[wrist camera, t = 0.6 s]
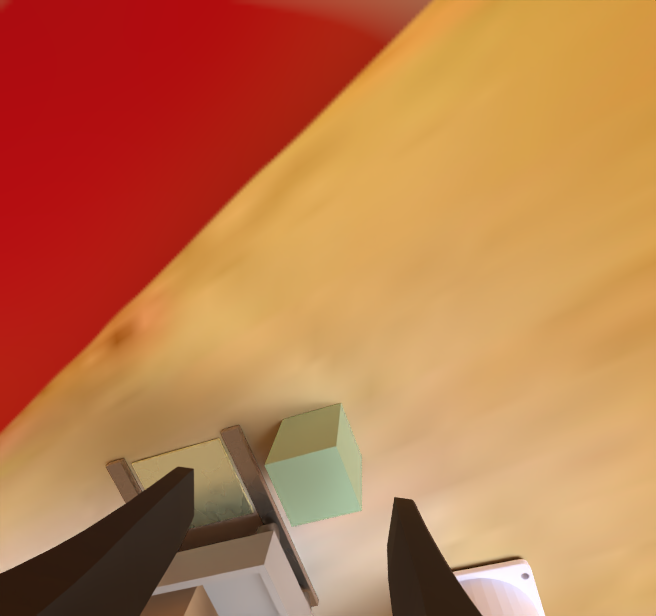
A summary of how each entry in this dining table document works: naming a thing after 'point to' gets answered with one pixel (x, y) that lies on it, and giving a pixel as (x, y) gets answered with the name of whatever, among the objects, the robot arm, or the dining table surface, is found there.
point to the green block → (316, 466)
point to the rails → (216, 488)
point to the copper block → (180, 603)
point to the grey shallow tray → (241, 576)
